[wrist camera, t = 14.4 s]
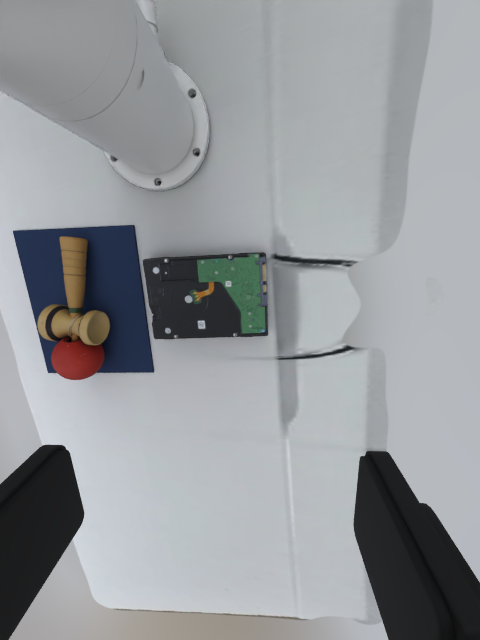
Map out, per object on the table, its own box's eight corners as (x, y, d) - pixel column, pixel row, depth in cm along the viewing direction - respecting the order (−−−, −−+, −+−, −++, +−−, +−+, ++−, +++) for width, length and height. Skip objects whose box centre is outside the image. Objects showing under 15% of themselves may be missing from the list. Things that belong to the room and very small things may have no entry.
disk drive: (161, 334, 38) (269, 329, 37) (154, 341, 36) (269, 336, 34) (150, 257, 35) (265, 250, 34) (140, 259, 33) (265, 250, 31)
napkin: (14, 231, 36) (12, 230, 35) (134, 225, 34) (133, 225, 34) (49, 371, 41) (48, 372, 41) (153, 371, 40) (153, 372, 39)
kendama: (53, 239, 37) (58, 370, 39) (22, 231, 30) (30, 387, 33) (114, 243, 37) (116, 371, 40) (96, 236, 31) (99, 388, 34)
